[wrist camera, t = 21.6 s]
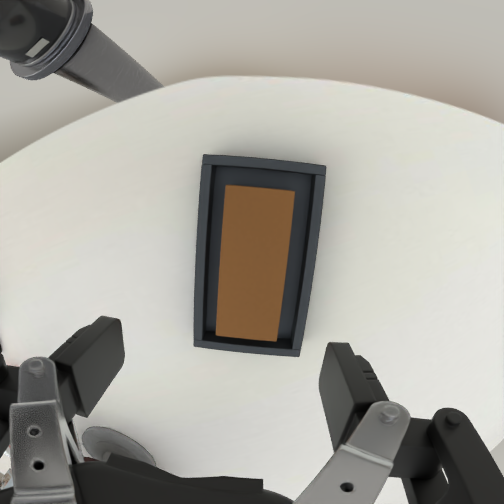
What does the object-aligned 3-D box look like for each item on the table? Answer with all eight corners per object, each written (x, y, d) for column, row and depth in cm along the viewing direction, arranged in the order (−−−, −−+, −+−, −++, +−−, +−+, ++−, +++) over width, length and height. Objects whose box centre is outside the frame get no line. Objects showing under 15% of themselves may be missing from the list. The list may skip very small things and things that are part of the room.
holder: (208, 156, 25) (202, 154, 22) (320, 167, 24) (326, 165, 22) (198, 334, 28) (193, 346, 26) (296, 343, 28) (299, 357, 26)
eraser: (230, 184, 25) (225, 184, 21) (290, 190, 24) (295, 191, 21) (221, 317, 27) (215, 335, 24) (275, 323, 27) (276, 341, 24)
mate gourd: (87, 461, 36) (44, 540, 16) (71, 410, 32) (5, 502, 13) (171, 489, 36) (145, 583, 16) (171, 444, 32) (130, 567, 13)
